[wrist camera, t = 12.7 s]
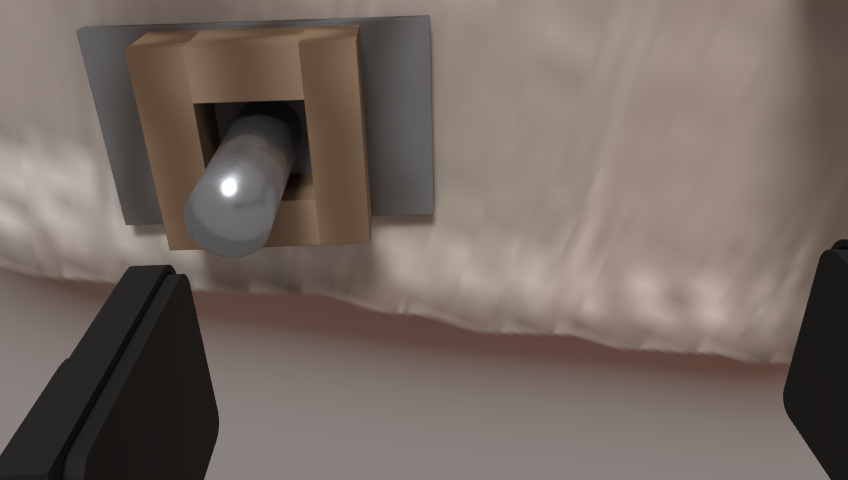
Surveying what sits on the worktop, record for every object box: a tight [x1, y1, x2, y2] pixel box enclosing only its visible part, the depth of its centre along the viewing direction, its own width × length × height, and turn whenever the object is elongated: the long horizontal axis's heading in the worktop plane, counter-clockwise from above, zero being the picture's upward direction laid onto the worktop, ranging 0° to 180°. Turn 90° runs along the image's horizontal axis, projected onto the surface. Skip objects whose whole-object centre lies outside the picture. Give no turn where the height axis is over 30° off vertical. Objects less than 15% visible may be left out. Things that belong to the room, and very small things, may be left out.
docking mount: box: [76, 15, 434, 250], centre depth 42 cm, size 20×12×5 cm, turn 92°
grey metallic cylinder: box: [184, 100, 302, 258], centre depth 39 cm, size 4×4×12 cm
